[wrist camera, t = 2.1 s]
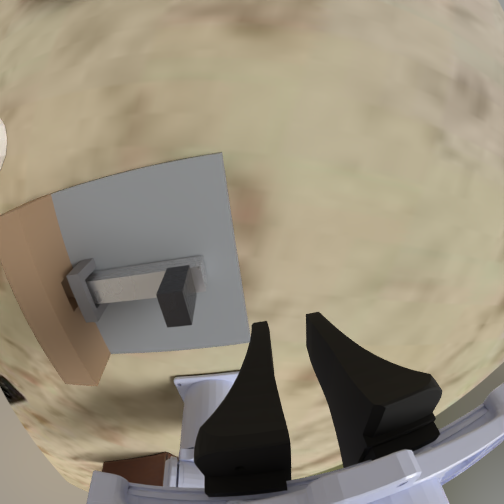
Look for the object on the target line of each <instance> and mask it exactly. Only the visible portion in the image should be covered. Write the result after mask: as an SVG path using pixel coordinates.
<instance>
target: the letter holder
mask: <svg viewBox="0 0 504 504" xmlns="http://www.w3.org/2000/svg"><path fill="white" fill-rule="evenodd" d="M171 456H173V457H176V456H174V455H172V454H170V453H168V452H165V453H160V454H155V455H150V456H145V457H139V458H132V459H125V460H117V461H108V462H104V464H103V470H102V472H105V473H111V474H116V475H119V476H121V477H123V478H125V479H126V480H127V481H128V482H130V483H137V484H144V485H154V486H163V480H164V469H165V461H166V460H168V459H170V457H171ZM177 460H178V457H177Z"/></svg>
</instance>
